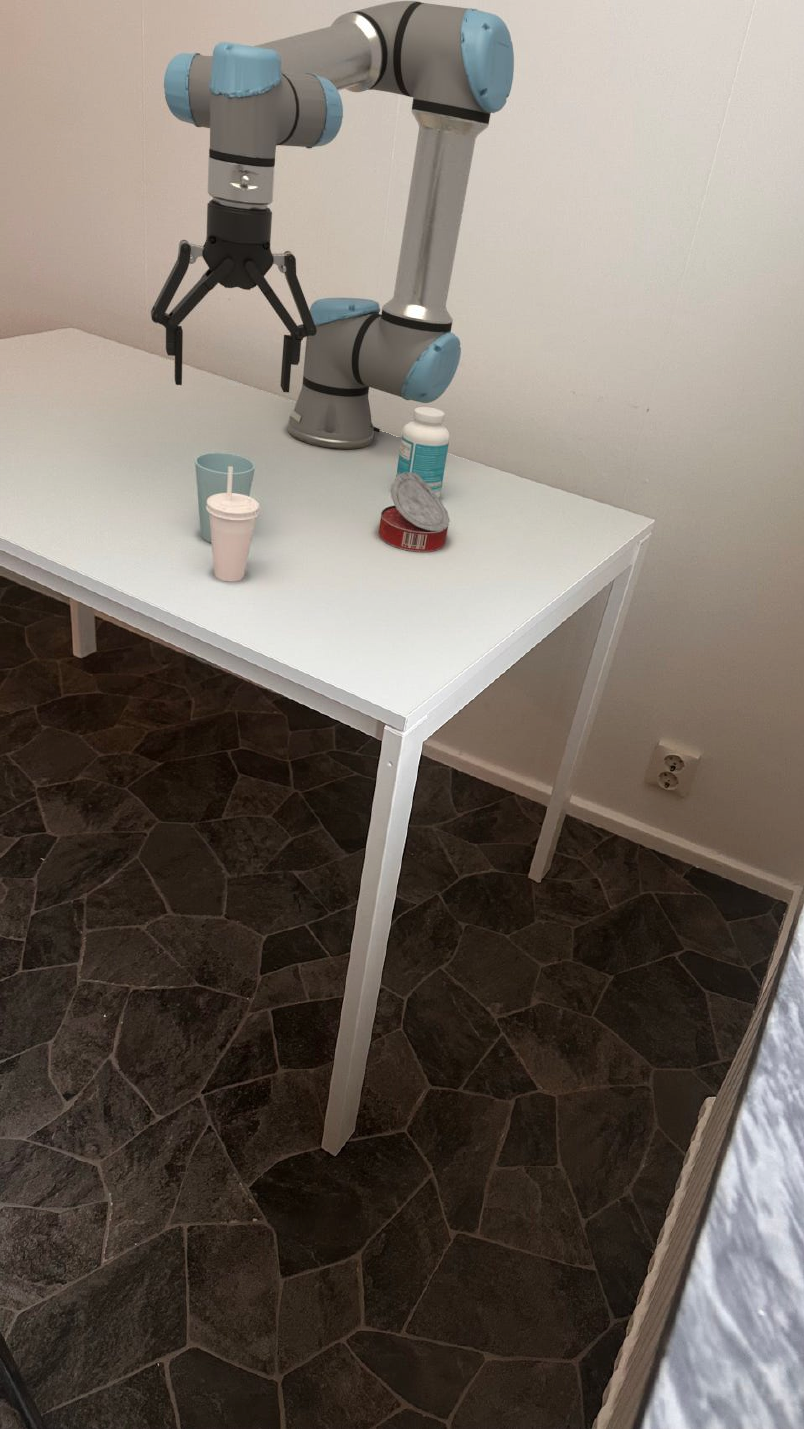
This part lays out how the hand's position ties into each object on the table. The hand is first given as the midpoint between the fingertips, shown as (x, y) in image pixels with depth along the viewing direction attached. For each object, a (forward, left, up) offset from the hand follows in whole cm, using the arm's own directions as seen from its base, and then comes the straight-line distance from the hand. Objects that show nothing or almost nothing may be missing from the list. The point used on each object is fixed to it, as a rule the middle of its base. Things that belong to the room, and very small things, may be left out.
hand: (232, 386), depth 127 cm
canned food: (-22, +15, -19) cm, 33 cm away
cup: (+3, +3, -19) cm, 20 cm away
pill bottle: (-35, +3, -19) cm, 40 cm away
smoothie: (+9, +13, -19) cm, 25 cm away
